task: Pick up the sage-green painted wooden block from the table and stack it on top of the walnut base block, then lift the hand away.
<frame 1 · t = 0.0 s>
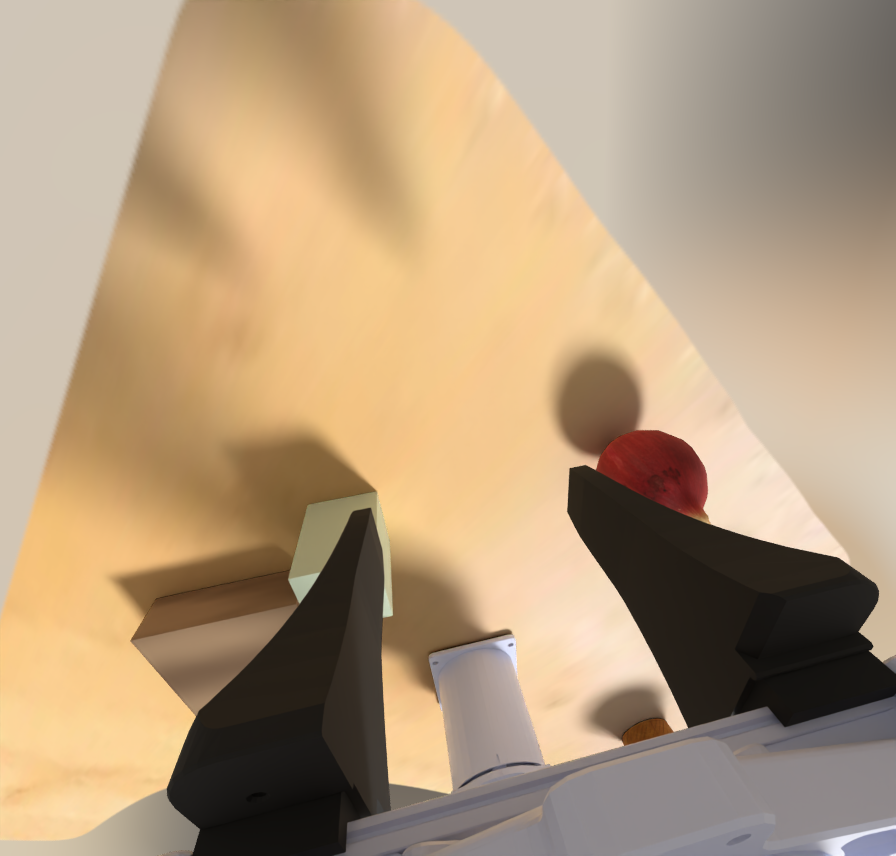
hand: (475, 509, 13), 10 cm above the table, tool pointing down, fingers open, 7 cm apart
onion: (613, 446, 26), on the table
sage block: (350, 523, 25), on the table
walnut base: (257, 627, 28), on the table
disposable coffee cup: (643, 729, 49), on the table
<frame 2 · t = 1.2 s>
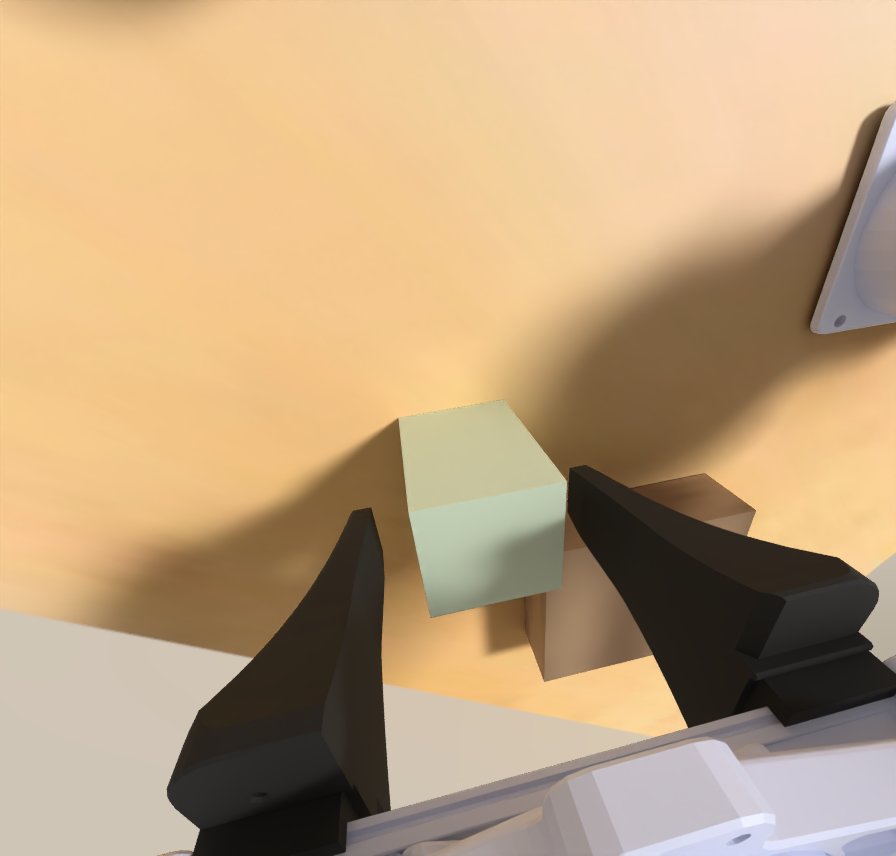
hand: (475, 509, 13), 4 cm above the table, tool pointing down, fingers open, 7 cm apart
sage block: (457, 453, 16), on the table
walnut base: (607, 559, 21), on the table
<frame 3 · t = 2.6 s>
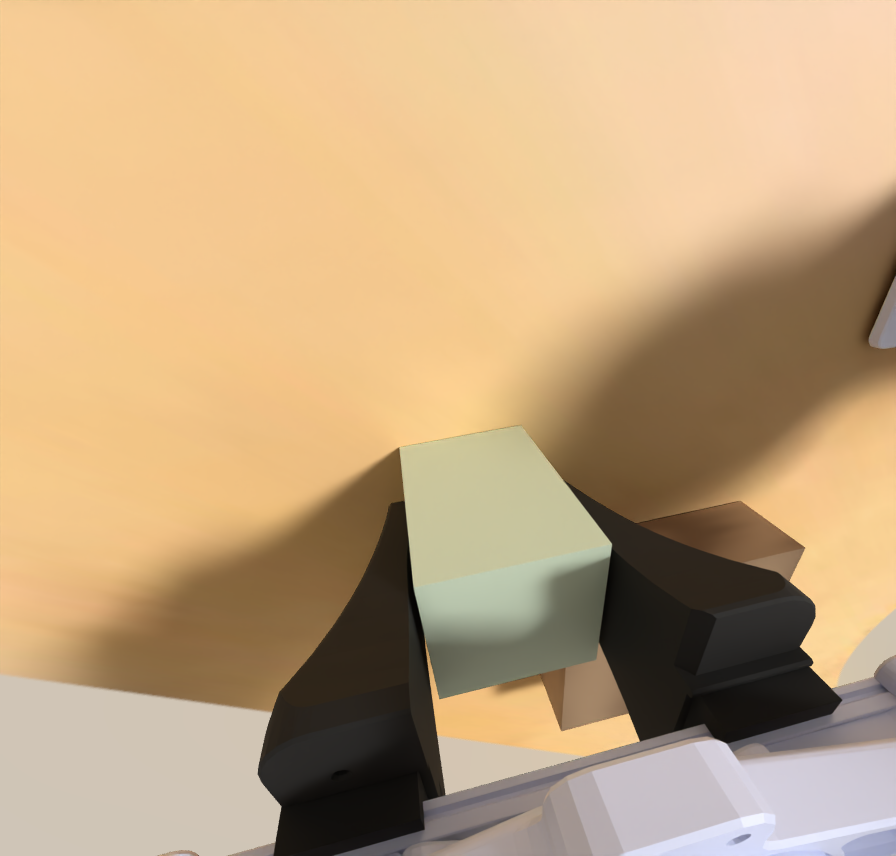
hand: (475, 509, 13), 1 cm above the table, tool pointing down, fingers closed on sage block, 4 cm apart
sage block: (466, 485, 14), on the table, touching gripper
walnut base: (629, 593, 19), on the table
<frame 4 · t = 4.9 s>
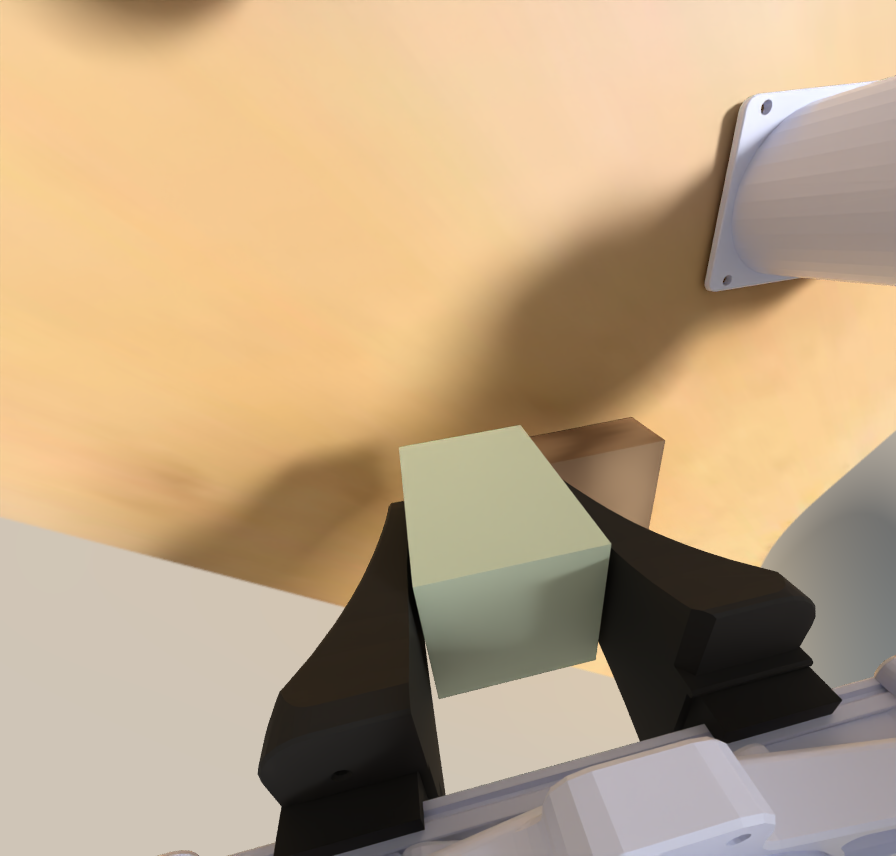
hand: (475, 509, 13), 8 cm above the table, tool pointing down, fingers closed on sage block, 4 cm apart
sage block: (466, 485, 14), point 7 cm above the table, touching gripper
walnut base: (553, 496, 25), on the table
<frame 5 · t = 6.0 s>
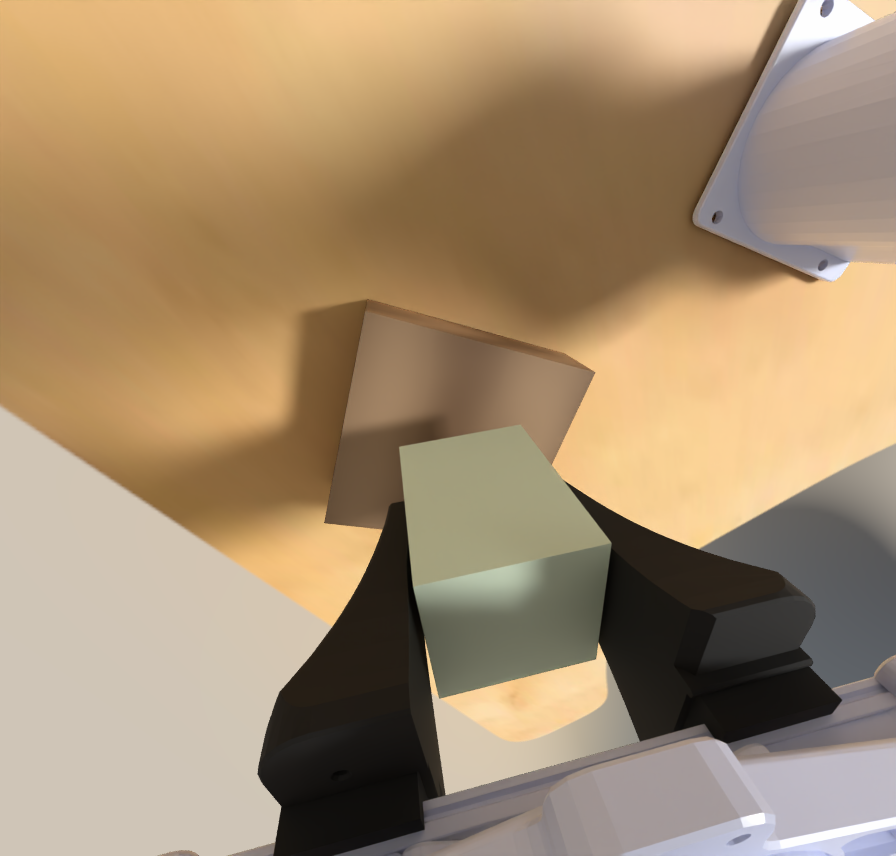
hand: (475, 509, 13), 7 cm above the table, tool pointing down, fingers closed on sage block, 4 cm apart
sage block: (466, 485, 14), point 6 cm above the table, touching gripper
walnut base: (444, 421, 19), on the table
when the fingers open (5 cm above the table, at t = 7.2 s): sage block stays where it is, resting on walnut base.
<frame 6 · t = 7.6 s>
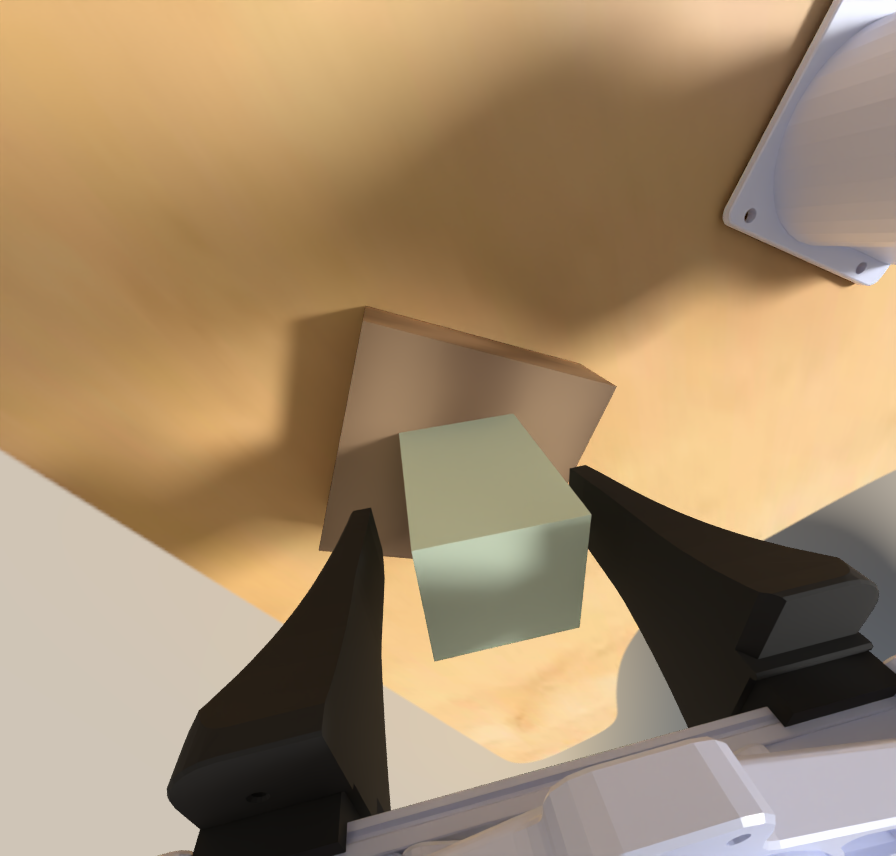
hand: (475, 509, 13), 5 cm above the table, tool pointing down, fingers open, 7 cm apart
sage block: (461, 471, 15), point 3 cm above the table, touching walnut base
walnut base: (449, 437, 18), on the table
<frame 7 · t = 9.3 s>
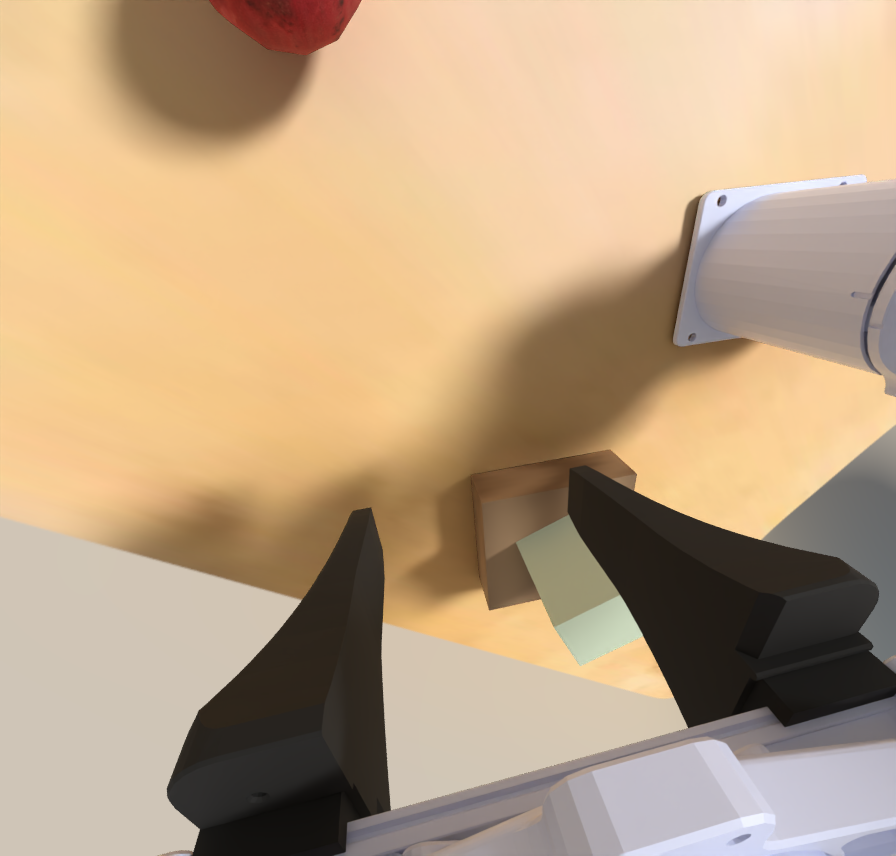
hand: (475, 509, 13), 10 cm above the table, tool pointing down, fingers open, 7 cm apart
sage block: (557, 546, 25), point 3 cm above the table, touching walnut base
walnut base: (540, 517, 28), on the table
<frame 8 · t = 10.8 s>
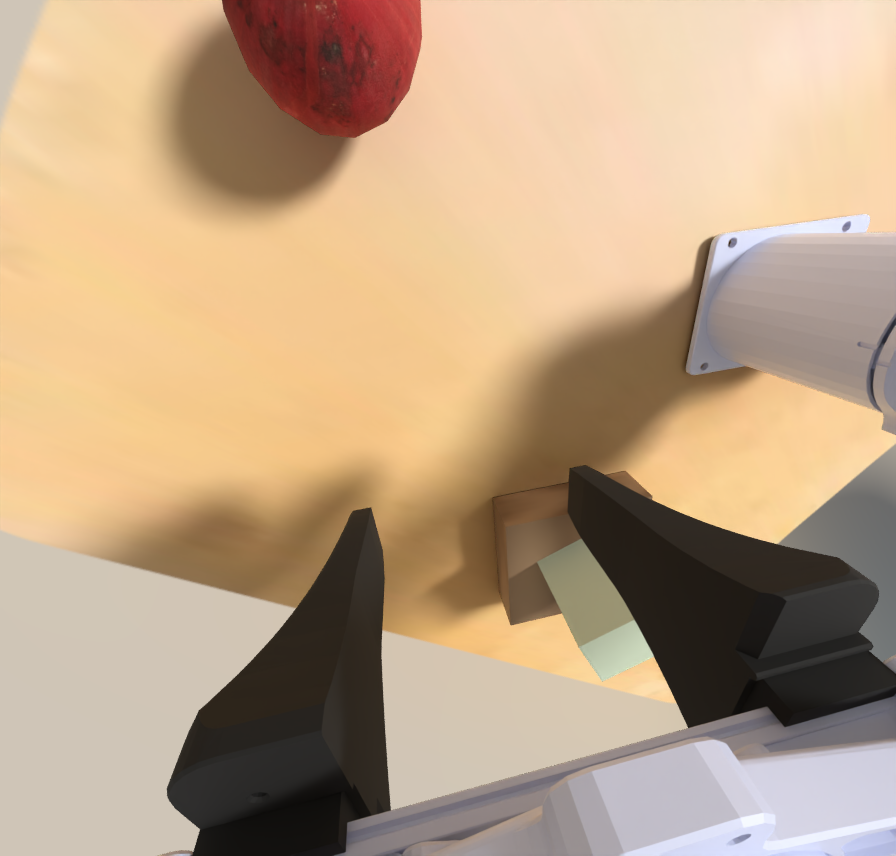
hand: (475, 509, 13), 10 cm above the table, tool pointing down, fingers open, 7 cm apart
onion: (339, 67, 15), on the table
sage block: (576, 565, 26), point 3 cm above the table, touching walnut base
walnut base: (558, 535, 29), on the table
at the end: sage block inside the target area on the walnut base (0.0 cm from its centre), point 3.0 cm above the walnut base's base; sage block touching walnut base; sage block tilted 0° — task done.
